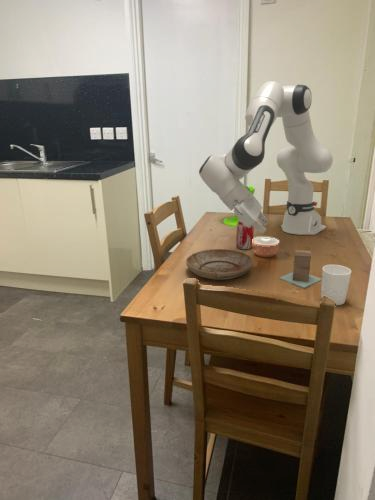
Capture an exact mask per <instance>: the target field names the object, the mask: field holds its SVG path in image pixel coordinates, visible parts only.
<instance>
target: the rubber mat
mask: <svg viewBox="0 0 375 500" xmlns="http://www.w3.org/2000/svg"><path fill="white" fill-rule="evenodd" d="M278 279H279V280H281V281H284V282H286V283H290V284H291V285H293V286H296V287H297V288H301V289H303V290H305V289H307V288H310V287H311V286H312V285H314V284H317V283H318V282H322V277H318V276H315V275H312V274H310V273H309V280H308V282H304V281H294V280H293V271H292V272H289V273H287V274H285V275H282V276H280V277H279V278H278Z"/></svg>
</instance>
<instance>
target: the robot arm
mask: <svg viewBox="0 0 375 500" xmlns="http://www.w3.org/2000/svg"><path fill="white" fill-rule="evenodd" d="M312 100H313V97H312V92H311V89H310V88H309V87H308V86H307V85H305V84H296V85H281V84H280V83H279V82H277V81H273V80H270V81H269V80H268V81H265V82H264V83H263V84H262V85H261V86H260V87H259V88H258V89H257V91H256V92H255V93H254V96H253V97H252V98H251V100H250V102H249V104H248V107H247V109H246V111H245V112H246V113H245V116H244V117H245V118H244V119H245V122H246V124H247V125H248V127H249V128H248V130H247V132H246V133H245V134H244V135H242V136H241V137H239V139H237V141H236V142H235V143H234V145H233V147H231V149H230V150H229V151H228V152H226V153H223V154H219V155H210V156H208V157H207V158H206V160H205V161H204V162H203V164H202V165H201V167H200V168H199V169H198V170H199V171H198V173H199V174H198V175H199V176H200V179H201V180H202V181H203V183H204V184H205V185H206V186H207V187H208V188H209V189H210V191H212V192H213V193H214V194H216V195H217V196H218V198H219V199H220V201H221V202H222V204H224V205H225V206H226V207H227V208H228V210H229V211H232V210H233V212H234V214H235V217H236V216H237V217H238V218H239V219H240V221H241V222H242V223H243V224H244V225H245V226H246V227H248V228H250V227H251V226H253V227H254V229H256V230H257V231H259V232H260V233H261V234H264V233H265V232H266V230H267V229H266V227H265V226H266V225H268V223H269V220H268V219H267V218H266V216H265V215H264V213H263V212H262V209H263V206H262V204H261V203H260V202H259V200H258V199H257V198H256V197H255V195H254V194H253V195H252V193H250V189H249V188H248V187H247V186H248V185H244V184H243V182H242V181H241V180H242V179H243V178H245V177H246V176H247V175H248V174H250V172H251V171H252V170H253V169H254V168H256V167H257V166H259V165H261V163H262V162H263V160H264V158H265V153H266V152H265V150H266V149H265V148H266V146H265V145H266V140H267V137H268V135H269V132H270V130H271V127H272V126H273V125H274V123H275V121H276V120H277V118H281V121H282V125H283V131H284V134H285V139H286V141H287V143H288V144H289V145H291V146H288V147H282V148H281V149H280V150H279V151H278V153H277V157H276V163H277V166H278V168H280V169H281V170H282V172H283V173H284V175H285V177H286V179H287V185H288V190H287V191H288V197H287V201H286V208H285V209H286V211H285V212H284V215H283V222H282V224H280V227H281V229H282V230H281V231H282V232H285V233H287V234H291V235H292V234H293V235H301V236H302V235H303V236H304V235H306V236H307V235H308V236H315V235H316V234H319V233H320V232H322V231H323V230H325V229H326V228H327V226H326V225H324V224H322V216H321V215H320V214H319V213H318V212H317V210H315V207H317V206H318V201H313V200H314V199H313V198H314V189H315V187H314V183H312V181H310V180H309V179H307V177H306V175H305V173H308V174H310V173H311V174H320V173H322V174H323V173H326V172H328V170H329V169H330V168H331V167H332V165H333V161H334V160H333V159H334V158H333V154H332V152H331V151H330V150H329V149H327V148H326V147H324V145H322V144H321V143H320V142H319V140H318V139H317V137H316V136H315V133H314V131H313V130H314V129H313V126H312V121H311V115H310V111H309V110H310V108H311V105H312ZM258 219H259V220H258ZM259 221H260V222H259Z"/></svg>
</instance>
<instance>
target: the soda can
mask: <svg viewBox="0 0 375 500" xmlns="http://www.w3.org/2000/svg"><path fill="white" fill-rule="evenodd" d="M254 231H255V228H254V227H253V226H251V227H250V228H248V227H246V226H245V225H244V224H243V223H242V222H241V221H240V219H239V222H238V224H237V226H236V247H237V248H238V249H239V250H244V251H245V250H246V251H247V250H249V249H251V247H252V239H253V240H254V237H255V235H254V234H255V232H254ZM252 248H253V247H252Z"/></svg>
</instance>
